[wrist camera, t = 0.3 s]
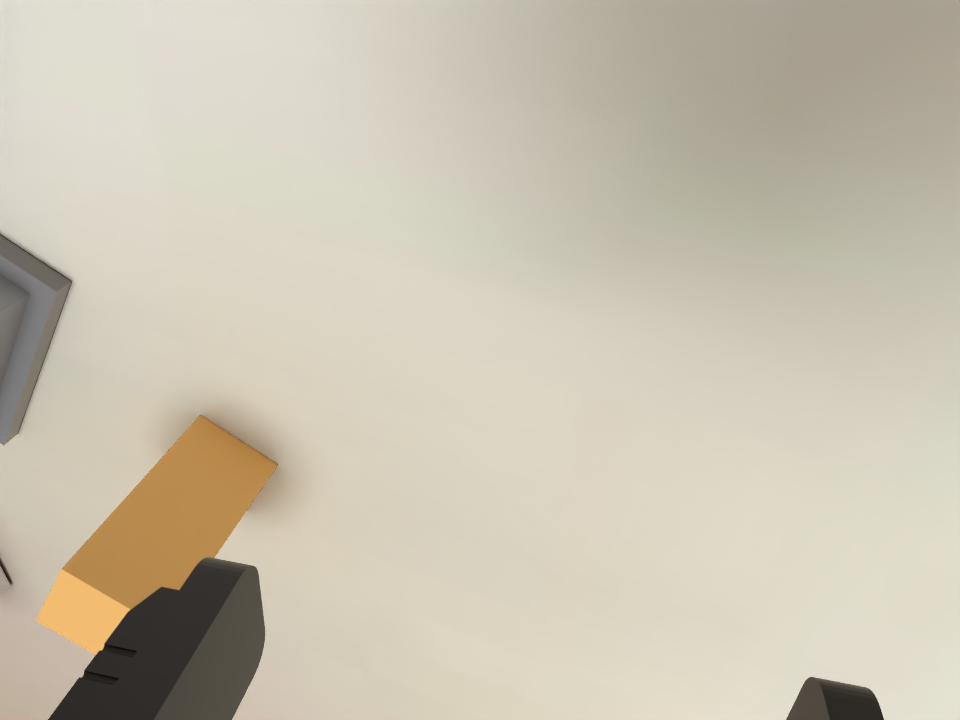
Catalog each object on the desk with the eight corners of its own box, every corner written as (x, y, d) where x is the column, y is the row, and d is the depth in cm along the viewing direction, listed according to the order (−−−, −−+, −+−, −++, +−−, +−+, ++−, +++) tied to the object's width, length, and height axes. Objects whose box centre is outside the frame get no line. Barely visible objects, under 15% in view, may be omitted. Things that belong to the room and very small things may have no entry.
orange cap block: (200, 415, 36) (61, 569, 28) (277, 464, 37) (164, 629, 28) (171, 465, 38) (35, 620, 30) (244, 511, 39) (131, 675, 31)
